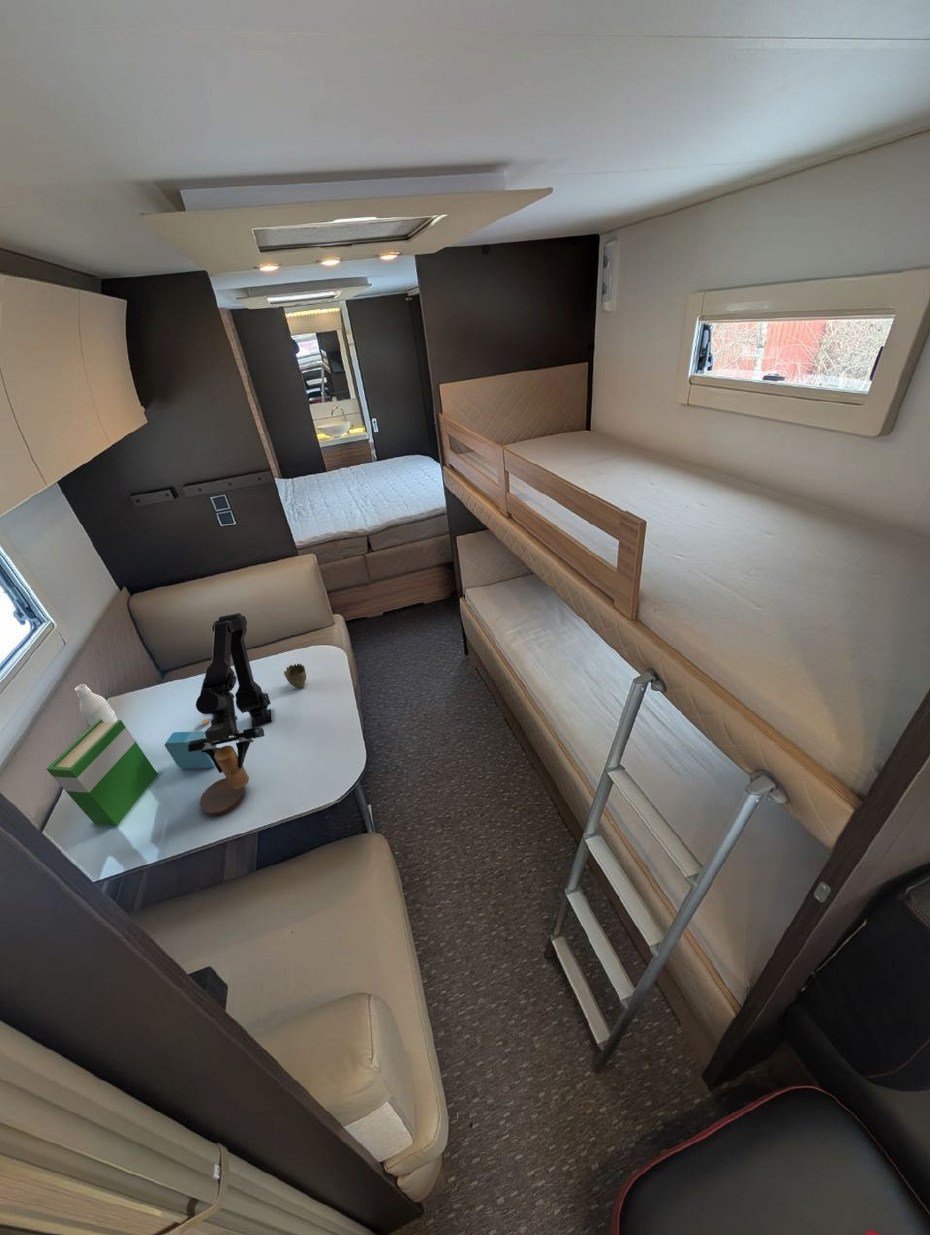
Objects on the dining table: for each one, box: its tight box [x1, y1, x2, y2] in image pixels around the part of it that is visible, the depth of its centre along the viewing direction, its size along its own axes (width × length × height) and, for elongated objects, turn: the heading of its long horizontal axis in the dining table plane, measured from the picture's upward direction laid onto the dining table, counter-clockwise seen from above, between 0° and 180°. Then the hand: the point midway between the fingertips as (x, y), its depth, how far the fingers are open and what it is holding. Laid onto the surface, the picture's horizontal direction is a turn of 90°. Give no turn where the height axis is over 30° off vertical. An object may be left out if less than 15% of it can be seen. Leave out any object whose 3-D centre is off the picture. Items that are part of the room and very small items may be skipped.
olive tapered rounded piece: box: [283, 663, 307, 689], centre depth 177 cm, size 8×7×8 cm
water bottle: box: [74, 683, 118, 727], centre depth 156 cm, size 7×7×25 cm
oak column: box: [214, 745, 250, 789], centre depth 133 cm, size 5×5×12 cm
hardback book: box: [46, 719, 159, 827], centre depth 136 cm, size 18×7×24 cm, turn 172°
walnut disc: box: [199, 777, 247, 818], centre depth 139 cm, size 12×12×2 cm
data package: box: [164, 730, 215, 770], centre depth 148 cm, size 12×4×12 cm, turn 87°
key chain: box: [195, 716, 213, 730], centre depth 169 cm, size 13×7×1 cm, turn 2°
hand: (230, 770), depth 132 cm, fingers closed on oak column, 5 cm apart
